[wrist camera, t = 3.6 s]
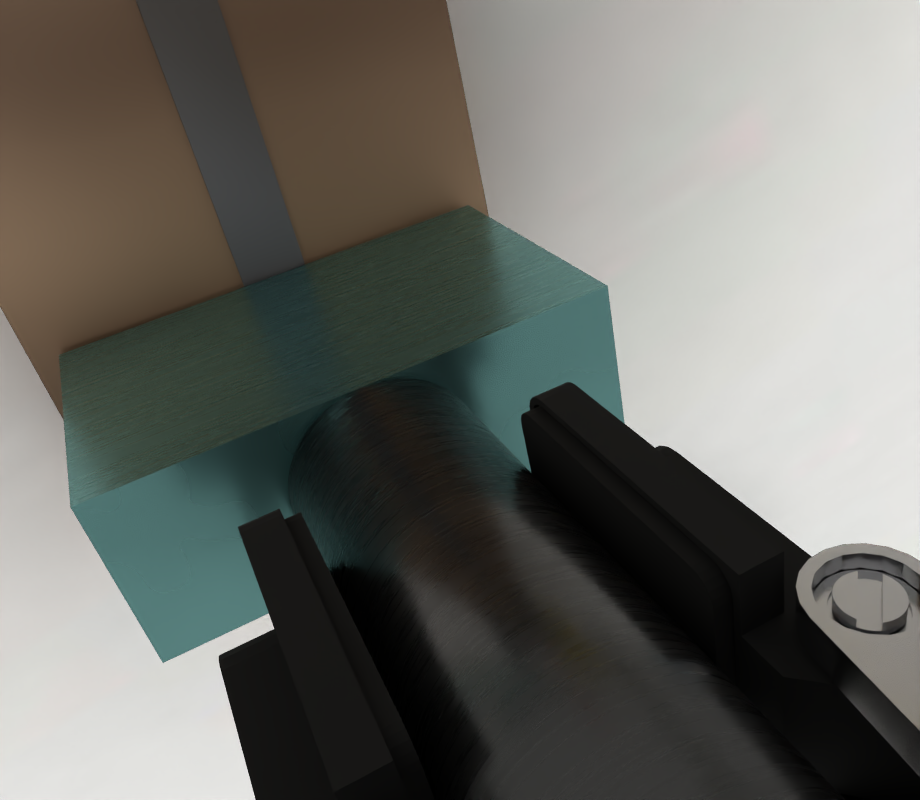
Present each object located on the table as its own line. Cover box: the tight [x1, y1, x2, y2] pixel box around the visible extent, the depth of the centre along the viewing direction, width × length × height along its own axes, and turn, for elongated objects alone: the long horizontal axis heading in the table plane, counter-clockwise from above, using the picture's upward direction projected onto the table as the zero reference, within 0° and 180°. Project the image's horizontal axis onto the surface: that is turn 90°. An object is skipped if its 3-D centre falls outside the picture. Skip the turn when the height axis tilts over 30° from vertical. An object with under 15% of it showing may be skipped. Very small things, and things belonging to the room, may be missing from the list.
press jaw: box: [59, 205, 845, 800], centre depth 10 cm, size 4×8×16 cm, turn 103°
